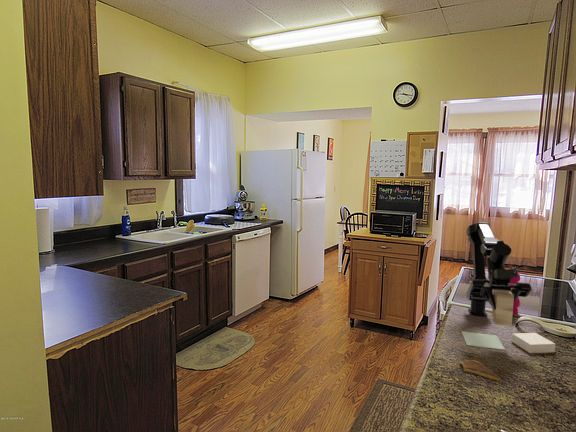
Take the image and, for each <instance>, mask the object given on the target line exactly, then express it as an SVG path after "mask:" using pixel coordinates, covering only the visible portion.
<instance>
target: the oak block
mask: <svg viewBox="0 0 576 432" xmlns="http://www.w3.org/2000/svg"><path fill="white" fill-rule="evenodd" d="M493 296H494V300H495V304H496V309H495V310H494V309H493V307H492V306H491V321H492V322H493V324H494V325H497V326H504V327H505V326H506V327H512V326H513V325H512V324H513V315H514V314H513V303H514V295H513V294H512V293H511V292H510V291H505V290H493Z"/></svg>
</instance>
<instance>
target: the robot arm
mask: <svg viewBox="0 0 576 432" xmlns="http://www.w3.org/2000/svg"><path fill="white" fill-rule="evenodd" d="M490 225H491V224H490V223H489V222H487V221H478V222H475V223H473V224H470V225H469V226H467V229H466V236H468V237H467V239H468V242H469V243H470V244H471V246H472V265H473V266H472V267H473V269H472V270H473V278H472V280H471V282H470V283H469V287H468V289H467V291H466V298H467V299H468V300H469V301H470V308H468V309H467V310H468V312H469V314H470V315H473V316H483V317H488V314H487V312H486V305H487V302H488V303H489V305H490V306H491V308H492V307H493V309H494V310H495V309H496V304H495V300H494V296H493V292H494V290H505V291H510V292H511V293H512V294H513V295H514V303H515V299H516V298H521V297H522V298H527V297H528V296H529V294H530V293H531V291H532V284H530V283H528V282H519V281H518V282H517V284H516V286H509V285H508V283H510V279H512V278H516V277H518V269H517V267H516V268H515V267H510V268H509V269H507V268H506V266H505V264H506V263H507V262H508V259H509V257H510V256H511V253H512V248H511V247H510V246H509V244H506V243H505V242H504V240H500V239H498V238H495V236H494V234H493V231H492V230H491V227H490ZM485 257H487V259H486V261H485ZM485 262H486V263H485ZM486 268H487V274H488V276H487V277H486ZM514 303H513V308H514Z"/></svg>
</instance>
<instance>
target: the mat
mask: <svg viewBox="0 0 576 432" xmlns="http://www.w3.org/2000/svg"><path fill="white" fill-rule="evenodd" d="M461 335H462V336H463V339H464V341H465V344H466V346H468V347H476V348H484V349H492V350H499V351H500V350H501V351H506V348H505V346H504V345H503V344H502V342H501V340H500V338H499V337H498V336H497V334H496V335H495V334H488V333H478V332H469V331H463V330H462V331H461Z"/></svg>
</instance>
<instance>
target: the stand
mask: <svg viewBox="0 0 576 432" xmlns="http://www.w3.org/2000/svg"><path fill="white" fill-rule="evenodd" d="M511 343H514V344H515V345H517V346H518V347H520V348H521V349H523V350H524V351H526V352H528V354H544V353H555V352H556V343H554V342H553V341H551V340H550V339H547V338H546V337H544V336H542V335H540V334H538V333H537V332H519V333H517V332H515V333H512V334H511Z"/></svg>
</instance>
